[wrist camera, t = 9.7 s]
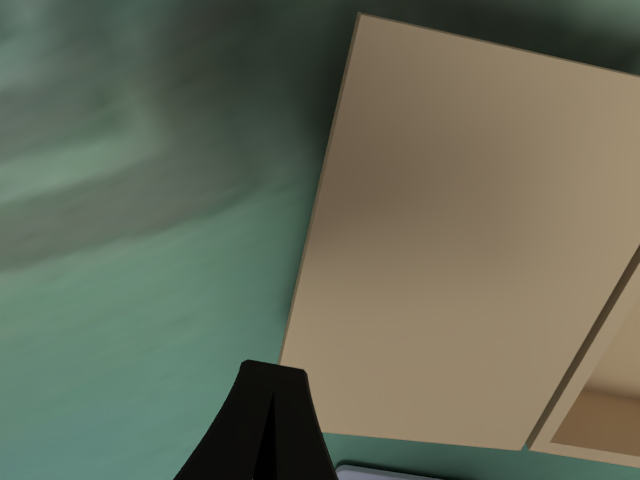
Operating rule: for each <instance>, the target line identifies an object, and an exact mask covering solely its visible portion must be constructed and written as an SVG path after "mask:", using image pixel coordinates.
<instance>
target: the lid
mask: <svg viewBox="0 0 640 480" xmlns="http://www.w3.org/2000/svg"><path fill="white" fill-rule="evenodd" d="M639 245H640V76H639V75H635V74H631V73H626V72H622V71H617V70H613V69H608V68H604V67H600V66H595V65H591V64H586V63H582V62H578V61H573V60H569V59H564V58H560V57H556V56H551V55H547V54H542V53H538V52H534V51H529V50H525V49H520V48H516V47H512V46H507V45H503V44H498V43H494V42H490V41H485V40H481V39H476V38H472V37H467V36H463V35H459V34H454V33H450V32H445V31H441V30H437V29H432V28H428V27H425V26H421V25H416V24H412V23H408V22H403V21H399V20H394V19H390V18H386V17H381V16H380V17H379V16H375V15H371V14H366V13H362V12H358V13H357V17H356V22H355V26H354V30H353V35H352V39H351V43H350V48H349V52H348V57H347V61H346V65H345V70H344V74H343V79H342V83H341V87H340V92H339V96H338V101H337V105H336V109H335V114H334V118H333V122H332V127H331V131H330V136H329V140H328V144H327V149H326V153H325V158H324V162H323V166H322V171H321V175H320V179H319V184H318V188H317V193H316V197H315V201H314V206H313V210H312V215H311V219H310V223H309V228H308V232H307V237H306V241H305V245H304V250H303V254H302V258H301V263H300V267H299V272H298V276H297V280H296V285H295V289H294V294H293V298H292V302H291V307H290V311H289V315H288V320H287V324H286V329H285V333H284V337H283V342H282V346H281V351H280V355H279V359H278V364H277V365H282V366H288V367H294V368H300V369H304V370H305V372H306V373H307V374H308V381H309V387H310V392H311V396H312V400H313V404H314V408H315V412H316V415H317V419H318V422H319V426H320V429H321V432H325V433H335V434H346V435H356V436H367V437H378V438H388V439H399V440H410V441H420V442H431V443H442V444H452V445H463V446H473V447H484V448H495V449H505V450H516V451H520V450H521V449H522V447H523V445H524V444H525V442H526V440H527V438H528V437H529V435H530V433H531V431H532V430H533V428H534V426H535V425H536V423H537V421H538V419H539V418H540V416H541V414H542V412H543V411H544V409H545V407H546V405H547V404H548V402H549V400H550V399H551V397H552V395H553V393H554V392H555V390H556V388H557V386H558V385H559V383H560V381H561V380H562V378H563V376H564V374H565V373H566V371H567V369H568V367H569V366H570V364H571V362H572V360H573V359H574V357H575V355H576V354H577V352H578V350H579V348H580V347H581V345H582V343H583V341H584V340H585V338H586V336H587V335H588V333H589V331H590V329H591V328H592V326H593V324H594V322H595V321H596V319H597V317H598V315H599V314H600V312H601V310H602V309H603V307H604V305H605V303H606V302H607V300H608V298H609V296H610V295H611V293H612V291H613V290H614V288H615V286H616V284H617V283H618V281H619V279H620V277H621V276H622V274H623V272H624V270H625V269H626V267H627V265H628V264H629V262H630V260H631V258H632V257H633V255H634V253H635V251H636V250H637V248H638V246H639Z"/></svg>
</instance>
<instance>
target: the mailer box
mask: <svg viewBox="0 0 640 480" xmlns="http://www.w3.org/2000/svg"><path fill="white" fill-rule="evenodd" d="M526 444H527V447H528V449H529V450H530V451H536V452H543V453H549V454H555V455H562V456H568V457H574V458H580V459H587V460H593V461H599V462H605V463H612V464H618V465H624V466H630V467H637V468H640V245H639V246H638V248H637V250H636V251H635V253H634V255H633V257H632V258H631V260H630V262H629V264H628V265H627V267H626V269H625V270H624V272H623V274H622V276H621V277H620V279H619V281H618V283H617V284H616V286H615V288H614V290H613V291H612V293H611V295H610V296H609V298H608V300H607V302H606V303H605V305H604V307H603V309H602V310H601V312H600V314H599V315H598V317H597V319H596V321H595V322H594V324H593V326H592V328H591V329H590V331H589V333H588V335H587V336H586V338H585V340H584V341H583V343H582V345H581V347H580V348H579V350H578V352H577V354H576V355H575V357H574V359H573V360H572V362H571V364H570V366H569V367H568V369H567V371H566V373H565V374H564V376H563V378H562V380H561V381H560V383H559V385H558V386H557V388H556V390H555V392H554V393H553V395H552V397H551V399H550V400H549V402H548V404H547V405H546V407H545V409H544V411H543V412H542V414H541V416H540V418H539V419H538V421H537V423H536V425H535V426H534V428H533V430H532V431H531V433H530V435H529V437H528V438H527V440H526Z"/></svg>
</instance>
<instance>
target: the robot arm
mask: <svg viewBox="0 0 640 480" xmlns="http://www.w3.org/2000/svg"><path fill="white" fill-rule="evenodd" d="M252 479H253V480H443V479H436V478H429V477H423V476H416V475H410V474H403V473H397V472H390V471H383V470H377V469H370V468H364V467H357V466H350V465H342V466H339V467H338V468H337V469H336V471H335V469H334V466H333V464H332V461H331V458H330V455H329V452H328V449H327V447H326V444H325V441H324V438H323V435H322V432H321V429H320V426H319V422H318V419H317V415H316V412H315V408H314V404H313V400H312V396H311V392H310V387H309V381H308V374H307V373H306V372H305V370H304V369H300V368H294V367H288V366H282V365H277V364H271V363H265V362H259V361H254V360H246V361H244V362H242V363H241V366H240V370H239V373H238V375H237V378H236V380H235V382H234V385H233V387H232V389H231V391H230V393H229V395H228V397H227V398H226V400H225V402H224V404H223V406H222V408H221V409H220V411H219V413H218V414H217V416H216V418H215V419H214V421H213V422H212V424H211V426H210V427H209V429H208V431H207V432H206V434H205V435H204V437H203V438H202V440H201V441H200V443H199V444H198V446H197V447H196V449H195V450H194V451H193V453H192V454H191V456H190V457H189V458H188V460H187V461H186V463H185V464H184V466H183V467H182V468H181V470H180V471H179V472H178V474H177V475H176V476H175V478H174V479H173V480H252Z"/></svg>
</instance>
